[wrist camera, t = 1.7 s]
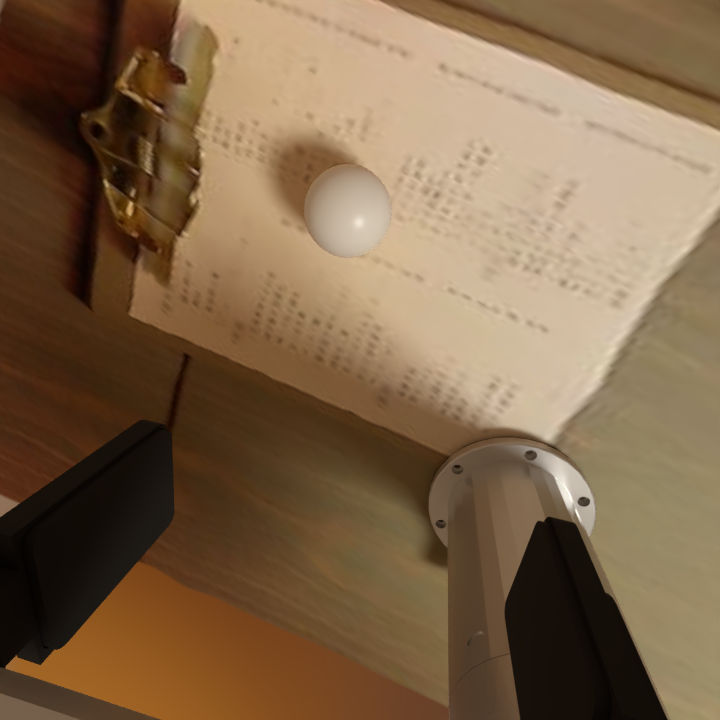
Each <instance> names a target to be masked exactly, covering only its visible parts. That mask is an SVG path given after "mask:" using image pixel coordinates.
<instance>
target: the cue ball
mask: <svg viewBox="0 0 720 720" xmlns="http://www.w3.org/2000/svg"><path fill="white" fill-rule="evenodd" d="M391 216H392V206H391V200H390V196H389V194H388V191H387V189H386V187H385V185H384V184H383V183H382V181H381V180H380V179H379V178H378V177H377V176H376V175H375V174H374V173H373V172H371V171H370V170H368V169H366V168H364V167H361V166H358V165H354V164H341V165H336V166H334V167H331V168H329V169H327V170H325V171H324V172H322V173H321V174H320V175H319V176H318V177H317V178H316V179H315V180H314V181H313V182H312V184H311V186H310V187H309V190H308V192H307V194H306V198H305V203H304V218H305V223H306V226H307V229H308V231H309V233H310V235H311V237H312V238H313V240H314V241H315V242H316V243H317V244H318V245H319V246H320V247H321V248H322V249H323V250H325V251H327V252H328V253H330V254H333V255H335V256H339V257H345V258H351V257H358V256H361V255H364V254H366V253H368V252H370V251H371V250H373V249H374V248H375V247H377V246H378V245H379V243H380V242H381V241H382V240H383V238H384V237H385V235H386V233H387V232H388V229H389V226H390V222H391Z"/></svg>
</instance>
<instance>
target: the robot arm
mask: <svg viewBox="0 0 720 720" xmlns="http://www.w3.org/2000/svg"><path fill="white" fill-rule="evenodd" d="M529 450H531V451H529ZM428 511H429V516H430V521H431V524H432V526H433V528H434V531H435V533H436V535H437V536H438V537H439V539H440V540H441V542H442V543H443V544H444V545H445V546H446V547H447V548H448V664H449V720H670V718H669V715H668V713H667V711H666V709H665V706H664V704H663V702H662V700H661V697H660V695H659V693H658V691H657V688H656V686H655V684H654V682H653V679H652V677H651V675H650V673H649V671H648V668H647V666H646V664H645V662H644V659H643V657H642V655H641V653H640V650H639V648H638V646H637V644H636V641H635V639H634V637H633V635H632V633H631V630H630V628H629V626H628V624H627V621H626V619H625V617H624V615H623V612H622V610H621V608H620V606H619V603H618V601H617V599H616V597H615V594H614V592H613V590H612V588H611V586H610V583H609V581H608V579H607V577H606V574H605V572H604V570H603V568H602V565H601V563H600V561H599V559H598V556H597V554H596V552H595V550H594V547H593V545H592V543H591V541H590V539H589V537H590V536H591V534H592V531H593V528H594V525H595V521H596V504H595V498H594V495H593V492H592V490H591V488H590V486H589V483H588V482H587V480H586V478H585V477H584V475H583V473H582V472H581V470H580V469H579V468H578V467H577V466H576V465H575V464H574V463H573V462H572V461H571V460H570V459H569V458H568V457H566V456H565V455H563V454H562V453H561V452H559V451H558V450H556V449H554V448H551V447H549V446H547V445H545V444H543V443H539V442H536V441H532V440H529V439H522V438H513V437H506V438H492V439H488V440H483V441H479V442H476V443H473V444H471V445H468V446H466V447H464V448H462V449H461V450H459V451H457V452H456V453H454V454H453V455H452V456H450V457H449V458H448V459H447V460H446V461H445V462H444V463H443V464H442V465H441V467H440V468H439V470H438V471H437V472H436V474H435V476H434V478H433V481H432V483H431V486H430V492H429V504H428ZM173 516H174V487H173V458H172V435H171V433H170V432H169V431H167V427H166V426H165V425H164V424H160V423H156V422H152V421H148V420H140V421H138V422H137V423H135V424H134V425H132V426H131V427H130V428H128V429H127V430H125V431H124V432H122V433H121V434H119V435H118V436H117V437H115V438H114V439H112V440H111V441H109V442H108V443H106V444H105V445H104V446H102V447H101V448H99V449H98V450H96V451H95V452H94V453H92V454H91V455H89V456H88V457H86V458H85V459H83V460H82V461H81V462H79V463H78V464H76V465H75V466H73V467H72V468H70V469H69V470H68V471H66V472H65V473H63V474H62V475H60V476H59V477H58V478H56V479H55V480H53V481H52V482H50V483H49V484H47V485H46V486H45V487H43V488H42V489H40V490H39V491H37V492H36V493H34V494H33V495H32V496H30V497H29V498H27V499H26V500H24V501H23V502H22V503H20V504H19V505H17V506H16V507H14V508H13V509H11V510H10V511H9V512H7V513H6V514H4V515H3V516H2V517H0V720H160V719H157V718H154V717H151V716H148V715H145V714H142V713H139V712H136V711H133V710H130V709H127V708H124V707H121V706H118V705H115V704H112V703H109V702H106V701H103V700H100V699H97V698H94V697H91V696H88V695H85V694H82V693H79V692H76V691H73V690H70V689H67V688H64V687H61V686H57V685H55V684H52V683H48V682H46V681H42V680H39V679H36V678H33V677H30V676H27V675H24V674H21V673H17V672H14V671H11V670H8V669H5V667H6V665H7V664H8V663H9V662H10V661H11V660H12V659H13V658H14V657H15V656H16V655H17V657H18V658H21V659H24V660H27V661H30V662H33V663H36V664H39V665H41V664H42V663H43V662H44V660H45V659H46V658H47V657H48V656H49V655H50V654H51V652H52V651H53V650H54V649H56V650H57V649H60V648H62V647H63V646H64V645H65V644H66V643H67V642H68V641H69V640H70V639H71V638H72V637H73V635H74V634H75V633H76V632H77V631H78V630H79V629H80V627H81V626H82V625H83V624H84V623H85V622H86V620H87V619H88V618H89V617H90V616H91V615H92V614H93V612H94V611H95V610H96V609H97V608H98V607H99V605H100V604H101V603H102V602H103V601H104V600H105V599H106V597H107V596H108V595H109V594H110V593H111V592H112V590H113V589H114V588H115V587H116V586H117V585H118V583H119V582H120V581H121V580H122V579H123V578H124V577H125V575H126V574H127V573H128V572H129V571H130V570H131V569H132V567H133V566H134V565H135V564H136V563H137V562H138V561H139V559H140V558H141V557H142V556H143V555H144V554H145V552H146V551H147V550H148V549H149V548H150V547H151V546H152V544H153V543H154V542H155V541H156V540H157V539H158V537H159V536H160V535H161V534H162V533H163V532H164V531H165V529H166V528H167V527H168V526H169V524H170V523H171V521H172V519H173Z"/></svg>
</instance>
